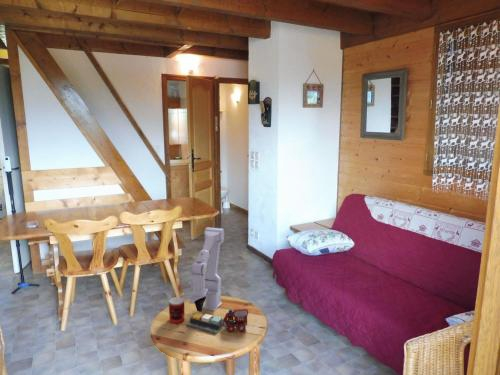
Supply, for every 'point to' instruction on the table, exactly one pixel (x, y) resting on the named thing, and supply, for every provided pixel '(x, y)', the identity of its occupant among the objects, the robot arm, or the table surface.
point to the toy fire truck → (236, 320)
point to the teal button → (216, 320)
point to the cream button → (207, 318)
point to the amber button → (197, 316)
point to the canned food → (176, 310)
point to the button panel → (205, 325)
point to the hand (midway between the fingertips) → (199, 310)
